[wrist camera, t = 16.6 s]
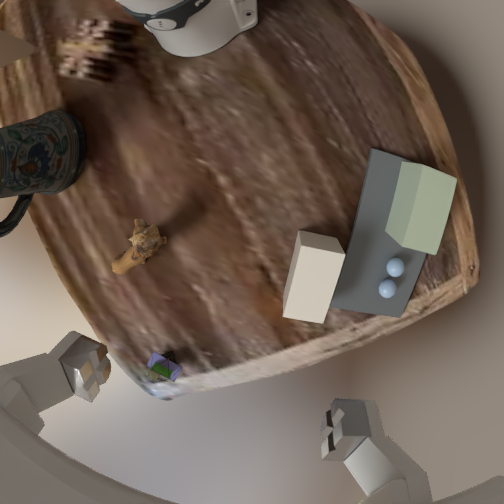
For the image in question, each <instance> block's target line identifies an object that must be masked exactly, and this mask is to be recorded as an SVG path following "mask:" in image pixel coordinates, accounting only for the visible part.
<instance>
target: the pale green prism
mask: <svg viewBox="0 0 504 504" xmlns="http://www.w3.org/2000/svg"><path fill="white" fill-rule="evenodd" d="M456 182H457V178H454V177H452V176H450V175H447V174H445V173H443V172H440V171H438V170H435V169H433V168H431V167H428V166H425V165H423V164H416V163H410V162H403V161H402V164H401V169H400V173H399V178H398V182H397V187H396V191H395V195H394V199H393V203H392V207H391V211H390V215H389V218H388V222H387V225H386V229H385V231H386V232H387V233H388V234H389V235H390V236H391V237H392V238H393V239H394V240H395V241H396V242H398V243H399V244H400V245H401V246H402V247H406V248H410V249H414V250H418V251H422V252H426V253H429V254H433V255H436V253H437V250H438V247H439V244H440V241H441V238H442V235H443V232H444V228H445V225H446V222H447V218H448V215H449V211H450V207H451V203H452V199H453V195H454V191H455V187H456Z"/></svg>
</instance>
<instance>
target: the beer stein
mask: <svg viewBox="0 0 504 504" xmlns="http://www.w3.org/2000/svg"><path fill="white" fill-rule="evenodd" d="M85 155H86V138H85V133H84V130H83V127H82V124H81V123H80V122H79V121H78V119H77V118H76V117H75V116H74V115H71V114H68V113H65V112H63V111H60V110H52V111H48V112H46V113H44V114H42V115H41V116H38V117H36V118H33V119H30V120H27V121H24V122H20V123H16V124H13V125H10V126H6V127H3V128H0V198H5V197H11V196H17V195H18V199H17V201H16V203H15V205H14V207H13V209H12V211H11V212H10V213H9V215H8V216H7V217H6V218H5V219H4V220H3V221H2V222H0V237H3V236H5V235H7V234H9V233H10V232H11V231H12V230H13V229H14V228H15V227H16V226H17V225H18V223H19V222H20V220H21V219H22V217H23V216H24V214H25V212H26V210H27V209H28V207H29V204H30V202H31V200H32V197H33V194H34V193H42V194H45V195H54V194H57V193H60V192H61V191H63V190H64V189H66V188H67V187H69V186H70V185H72V184H73V183H74V182H75V181H76V179H77V177H78V176H79V174H80V173H81V171H82V168H83V164H84V161H85Z"/></svg>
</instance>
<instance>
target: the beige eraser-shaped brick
mask: <svg viewBox="0 0 504 504" xmlns="http://www.w3.org/2000/svg"><path fill="white" fill-rule="evenodd" d="M344 258H345V253H344V251H343V249H342V247H341V245H340V243H339V241H338V240H337V238H335V237H330V236H325V235H320V234H316V233H311V232H306V231H301V230H299V231H298V236H297V240H296V245H295V249H294V253H293V258H292V262H291V266H290V270H289V274H288V278H287V282H286V286H285V290H284V303H283V317H287V318H293V319H298V320H304V321H310V322H316V323H322V324H323V322H324V319H325V316H326V313H327V311H328V308H329V305H330V302H331V299H332V296H333V293H334V290H335V287H336V284H337V281H338V278H339V274H340V271H341V268H342V265H343V261H344Z"/></svg>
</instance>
